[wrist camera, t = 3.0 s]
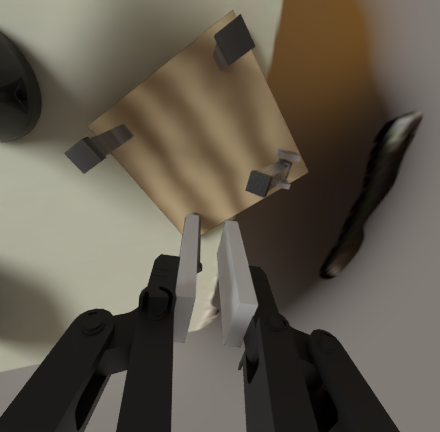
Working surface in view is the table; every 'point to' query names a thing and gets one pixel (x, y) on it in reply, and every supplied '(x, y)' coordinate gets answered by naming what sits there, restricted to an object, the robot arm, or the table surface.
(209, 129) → the stool top
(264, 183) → the hinged leg
